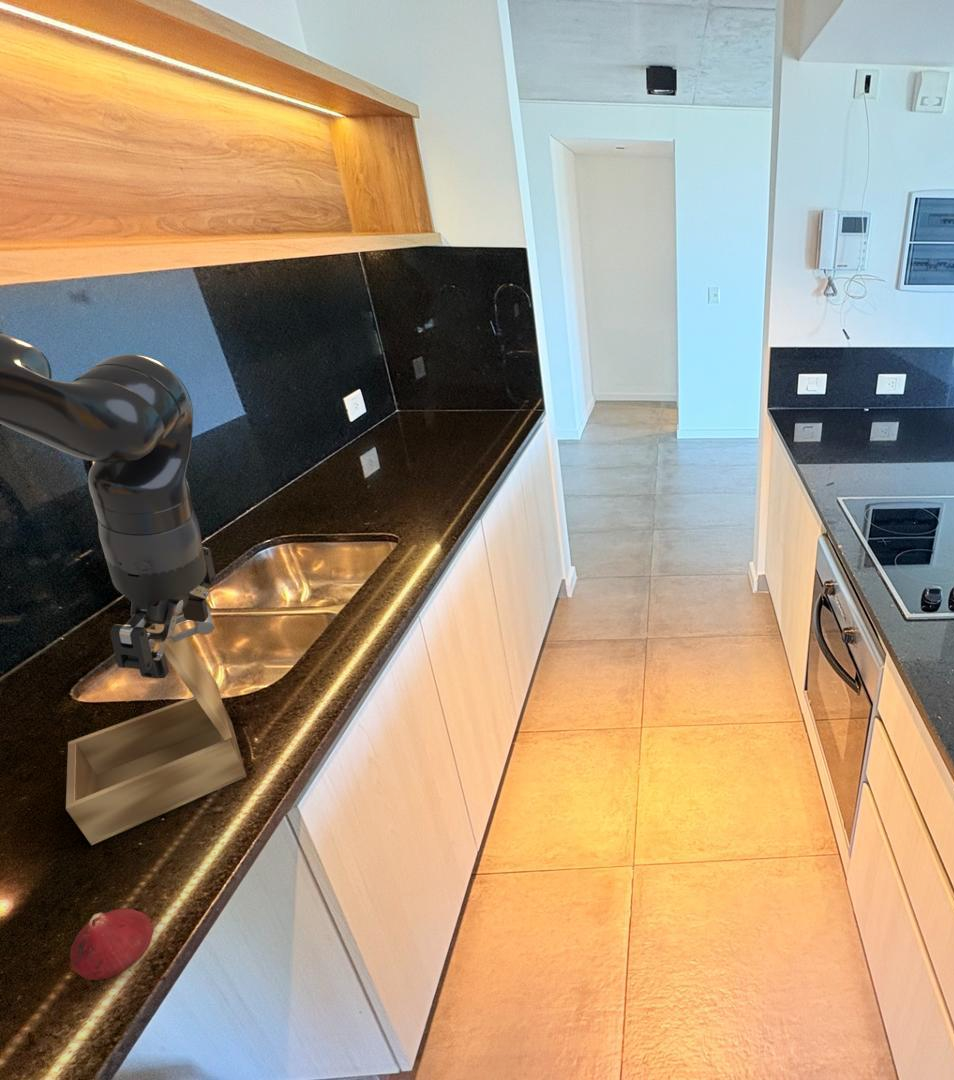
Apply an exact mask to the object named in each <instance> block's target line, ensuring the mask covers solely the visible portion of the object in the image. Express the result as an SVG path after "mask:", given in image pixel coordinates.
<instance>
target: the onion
mask: <svg viewBox="0 0 954 1080" xmlns="http://www.w3.org/2000/svg"><path fill="white" fill-rule="evenodd" d="M154 931H155V929H154V926H153V924H152V921H151V918H150V917H149V916H148V915H146V914H145V913H143V912H141V911H140V910H136V909H133V908H120V909H119V908H118V909H114V910H111V911H106V912H98V913H94V914H93V915H92V917H91V918H90V919H89V921H88V923H86V924H85V925H84V926H83V927H82V928H81V929H80V931H79V932H78V934H77V935H76V936H75V938H74V940H73V942H72V944H71V946H70V950H69V956H70V966H71V968H72V971H73V972H74V973H76V974H77V975H78V976H80V977H82V978H84V979H85V980H87V981H99V980H107V979H110V978H112V977H115V976H116V975H119V974H121V973H124V972H125V971H126V970H128V969H130V968H131V967H132V966H133V965H135V964H136V963H137V962H138V961H139V960H140V959H141V958H142V957H143V956H144V954H145V953H146V952H147V950H148V949H149V947H150V945H151V942H152V939H153V935H154Z"/></svg>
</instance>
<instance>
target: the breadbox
mask: <svg viewBox="0 0 954 1080" xmlns="http://www.w3.org/2000/svg"><path fill="white" fill-rule="evenodd" d="M223 706H224V710H225V714H226V717H227V721H228V725H229V728H230V732H231V736H232V738H230V739H227V740H224V739H223V737H222V736H221V734H220V733H219V732H218V730H217V729H216V727H215V726H214V725H213V723H212V722H211V720H210V719H209V717H208V716H207V715H206V713H205V712H204V710H203V709H202V707H201V706H200V705H199V703H198V702H197V700H196V699H195V697H194V696H191V697H187V698H186V699H183V700H180V701H177V702H175V703H171V704H168V705H166V706H164V707H161V708H158V709H155V710H153V711H150V712H148V713H145V714H141V715H139V716H136V717H133V718H130V719H127V720H125V721H122V722H120V723H117V724H114V725H112V726H108V727H106V728H103V729H100V730H97V731H94V732H92V733H89V734H87V735H86V734H85V735H84V736H81V737H78V738H76V739H75V738H74V739H73V740H69V741H67V760H66V761H67V762H66V763H67V765H66V789H65V790H66V793H65V794H66V795H65V810H66V812H67V813H68V814H69V816H70V817H71V819H72V820H73V821H74V823H75V825H76V826H77V827H78V828H79V830H80V831H81V833H82V834H83V836H84V837H85V838H86V840H87V841H88V843H89V844H90V845H91V846H93V845H96V844H98V843H100V842H102V841H105V840H107V839H109V838H111V837H114V836H116V835H118V834H120V833H123V832H125V831H127V830H130V829H132V828H134V827H136V826H139V825H141V824H143V823H145V822H147V821H150V820H152V819H154V818H156V817H159V816H161V815H163V814H166V813H168V812H170V811H173V810H175V809H177V808H179V807H181V806H183V805H186V804H188V803H190V802H192V801H195V800H197V799H199V798H201V797H204V796H206V795H208V794H211V793H213V792H215V791H218V790H220V789H223V788H224V787H227V786H229V785H231V784H233V783H235V782H238V781H240V780H243V779H244V778H247V773H246V772H247V771H246V769H245V765H244V762H243V758H242V754H241V751H240V747H239V744H238V740H237V737H236V733H235V729H234V726H233V722H232V720H231V718H230V716H229V714H228V711H227V709H226V707H225V705H224V704H223Z"/></svg>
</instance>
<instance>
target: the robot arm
mask: <svg viewBox="0 0 954 1080" xmlns="http://www.w3.org/2000/svg"><path fill="white" fill-rule="evenodd" d="M0 424H1V425H2V426H5V427H7V428H9V429H11V430H13V431H15V432H17V433H20V434H22V435H25V436H27V437H29V438H31V439H33V440H36V441H37V442H41V443H42V444H44V445H47V446H49V447H52V448H53V449H56V450H58V451H60V452H62V453H64V454H67V455H70V456H72V457H75V458H78V459H82V460H85V461H89V462H93V464H92V465H91V467H90V469H89V472H88V476H87V477H88V478H87V479H88V481H87V483H88V489H89V493H90V496H91V497H90V498H91V499H92V502H93V507H94V510H95V514H96V517H97V524H98V525H97V526H98V527H97V528H98V537H99V541H100V544H101V548H102V551H103V554H104V558H105V562H106V565H107V567H108V571H109V575H110V578H111V581H112V585H113V587H114V588H115V589H116V590H117V591H118V592H119V593H120V594H122V596H124V597H125V598H127V599H128V600H129V601H130V603H131V606H130V616H131V617H130V619H129V620H128V621H127V622H126V623H125V624H122V623H121V624H119V623H114V624H113V625H112V627H111V628H110V630H109V636H110V640H111V645H112V648H113V652H114V656H115V660H116V664H117V667H118V668H122V669H123V668H124V669H125V668H127V669H134V670H139V672H140V676H141V677H143V678H150V679H165V678H166V677H167V676H168V674H169V673H170V670H169V666H168V662H167V658H166V656H165V654H164V648H165V644H166V640H167V639H169V638H171V637H172V636H173V634H174V630H175V625H176V621H177V617H178V616H179V615H181V613H182V614H184V618H185V619H187V620H186V621H193V622H194V621H199V622H204V621H206V619H207V618H208V611H207V606H208V605H207V600H206V598H207V597H208V596H209V592H210V590H209V588H207V587H208V585H211V586H212V585H214V584H215V581H216V580H217V576H216V571H215V567H214V562H213V561H214V560H213V556H212V552H211V549H210V547H206V546H203V541H202V534H201V529H200V523H199V521H198V517H197V516H196V513H195V510H194V506H193V505H194V504H193V499H192V492H191V487H190V484H189V479H188V466H189V463H190V458H191V451H192V450H191V449H192V439H193V432H194V431H193V430H194V409H193V402H192V400H191V396H190V394H189V391H188V390H187V388H186V385H185V384H184V383H183V381H182V380H181V379H180V377H179V376H178V375H177V374H176V373H175V372H174V371H173V370H171V369H170V368H169V367H168V366H166V365H165V364H164V363H162V362H161V361H158V360H156V359H153V358H151V357H148V356H145V355H142V354H141V355H140V354H134V353H130V354H128V353H127V354H125V353H124V354H117V355H113V356H110V357H108V358H105V359H103V360H101V361H100V362H98V363H97V364H95V365H94V366H92V367H91V368H89V369H88V370H87V371H85V372H84V373H82V374H81V375H80V376H78V377H77V378H76V379H74V380H73V381H71V382H65V381H59V380H55V379H52V369H51V364H50V363H49V360H48V358H47V357H46V356H45V354H44V353H43V352H42V351H41V350H40V349H38V348H37V347H36V346H34V345H32V344H30V343H28V342H26V341H23V340H21V339H18V338H16V337H13V336H10V335H6V334H3V333H0ZM147 623H148V624H154V625H155V624H161V625H164V629H163V631H161V630H155V629H154V628H153V629H152V628H147V627H145V625H146V624H147ZM150 640H153V641H154V645H153V648H152V647H151V645H150Z"/></svg>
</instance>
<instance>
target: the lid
mask: <svg viewBox="0 0 954 1080" xmlns="http://www.w3.org/2000/svg"><path fill="white" fill-rule="evenodd" d="M207 611H208V618H207V619H206V621H204V622H199V621H193V624H194V626H193V627H191V628H188V629H185V630H182V629H181V627H180V626H179V624H181V623H184V622H186V621H188V620H187V619H185V618H184V614H183V613H182V614H179V615H178V617H177V621H176V625H175V630H174V634H173V636H172V637H171V638H169V639H167V640H166V644H165V648H164V654H165V658H166V660H167V661H168V662H169V663H170V665H171V667H172V668H173V669H174V670H175V672H176V673H177V675H178V677H179V678H180V679H181V680H182V682H183V683H184V685H185V687H187V689H188V690H189V692H190V694H191V695H192V697H195V699H196V700H197V702H198V703H199V705H200V706H201V707H202V709H203V710H204V712H205V713H206V715H207V716H208V717H209V719H210V720H211V722H212V723H213V725H214V726H215V727H216V729H217V730H218V732H219V733H220V734H221V736H222V737H223V739H224V740H227V739H230V738H232V736H231V732H230V728H229V725H228V721H227V717H226V714H225V710H224V707H225V705H224V703H223V700H222V695H221V692H220V689H219V684H218V683H217V681H216V680H215V678H214V677H213V676H212V673H211V672H210V671H209V669H208V668H207V666H206V665H205V663H204V662H203V659H201V657H200V656H199V654H198V653H197V651H196V649H195V648H194V647H193V645H192V644H191V642H190V641H189V639H188V638H189V637H193V636H195V635H197V634H198V635H202V636H206V635H210V634H212V633H213V632H214V630H215V627H216V626H215V623H214V620H213V617H212V614H211V610H210V607H209V605H207ZM163 629H164V625H161V624H154V630H161V631H163ZM223 705H224V706H223Z"/></svg>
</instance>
